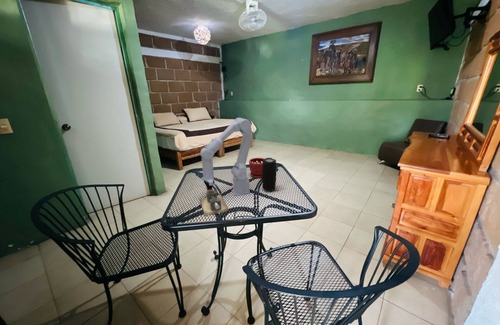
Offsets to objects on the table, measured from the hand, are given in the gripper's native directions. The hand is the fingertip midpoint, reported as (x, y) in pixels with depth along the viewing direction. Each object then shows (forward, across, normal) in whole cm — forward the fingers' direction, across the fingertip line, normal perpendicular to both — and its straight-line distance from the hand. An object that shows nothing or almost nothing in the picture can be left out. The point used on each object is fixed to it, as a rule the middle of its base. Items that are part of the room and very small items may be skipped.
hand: (209, 192), depth 115 cm
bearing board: (+4, +9, 0) cm, 10 cm away
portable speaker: (+4, +3, +36) cm, 36 cm away
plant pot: (+4, -20, +39) cm, 44 cm away
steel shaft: (+1, +10, 0) cm, 10 cm away
